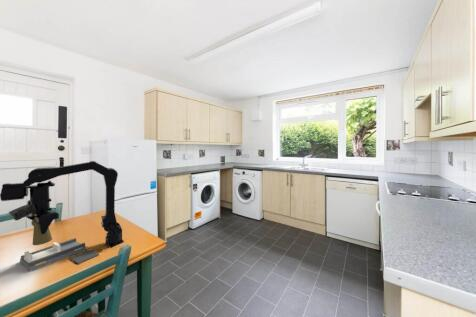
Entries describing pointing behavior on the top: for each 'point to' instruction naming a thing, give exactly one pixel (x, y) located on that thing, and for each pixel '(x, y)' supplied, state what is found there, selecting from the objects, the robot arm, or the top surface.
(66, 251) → the grey slide rail tray
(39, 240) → the cork
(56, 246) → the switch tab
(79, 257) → the rubber pad
